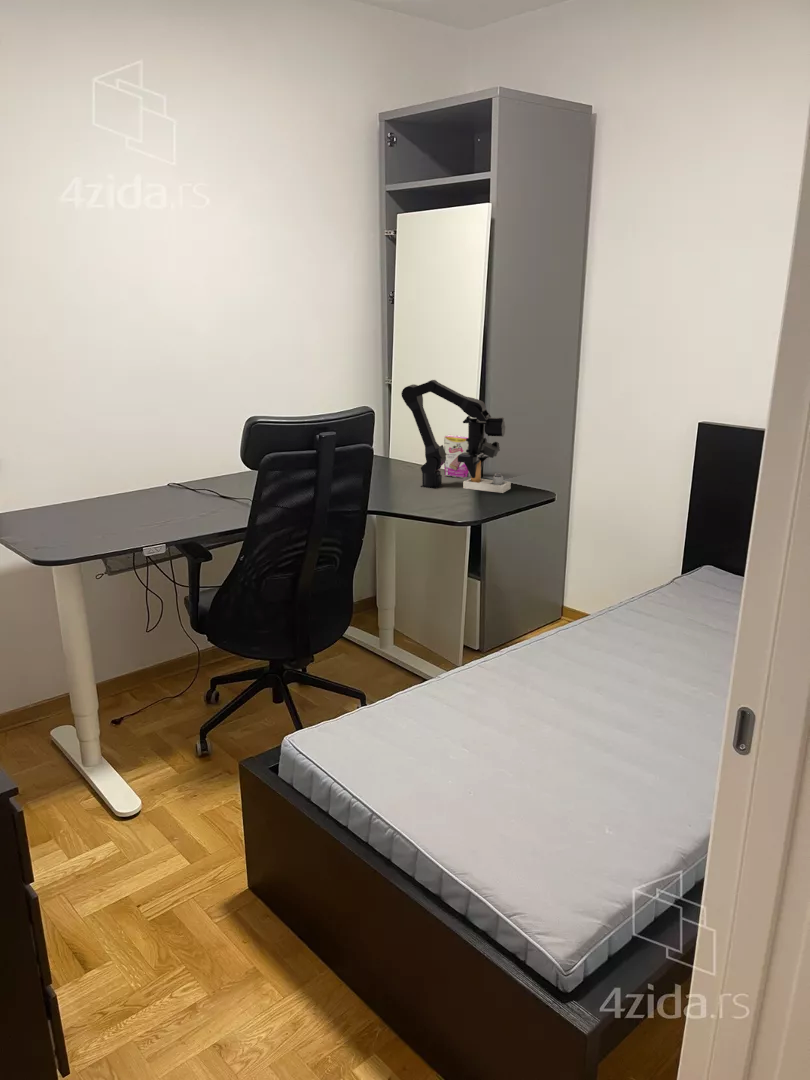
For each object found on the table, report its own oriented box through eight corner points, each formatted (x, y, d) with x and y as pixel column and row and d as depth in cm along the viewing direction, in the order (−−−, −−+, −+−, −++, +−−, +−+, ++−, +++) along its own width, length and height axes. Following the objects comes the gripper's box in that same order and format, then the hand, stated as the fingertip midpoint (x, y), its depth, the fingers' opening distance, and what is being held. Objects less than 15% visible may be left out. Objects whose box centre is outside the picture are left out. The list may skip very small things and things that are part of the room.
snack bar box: (443, 476, 315) (443, 436, 310) (449, 474, 319) (449, 434, 314) (468, 479, 309) (468, 438, 304) (474, 477, 313) (474, 436, 308)
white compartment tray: (463, 490, 293) (463, 481, 292) (471, 486, 298) (471, 477, 297) (502, 495, 285) (502, 486, 284) (510, 491, 290) (510, 482, 289)
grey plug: (491, 490, 288) (491, 474, 287) (495, 488, 291) (495, 472, 290) (500, 491, 287) (500, 475, 285) (504, 489, 290) (504, 473, 288)
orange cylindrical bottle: (478, 483, 291) (478, 459, 288) (469, 482, 292) (469, 458, 289) (482, 481, 293) (482, 457, 291) (473, 480, 295) (473, 456, 292)
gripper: (485, 441, 276) (484, 484, 281) (506, 432, 291) (506, 474, 296) (456, 439, 281) (456, 481, 286) (479, 430, 297) (479, 471, 301)
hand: (475, 476), depth 292 cm, fingers closed on orange cylindrical bottle, 4 cm apart
